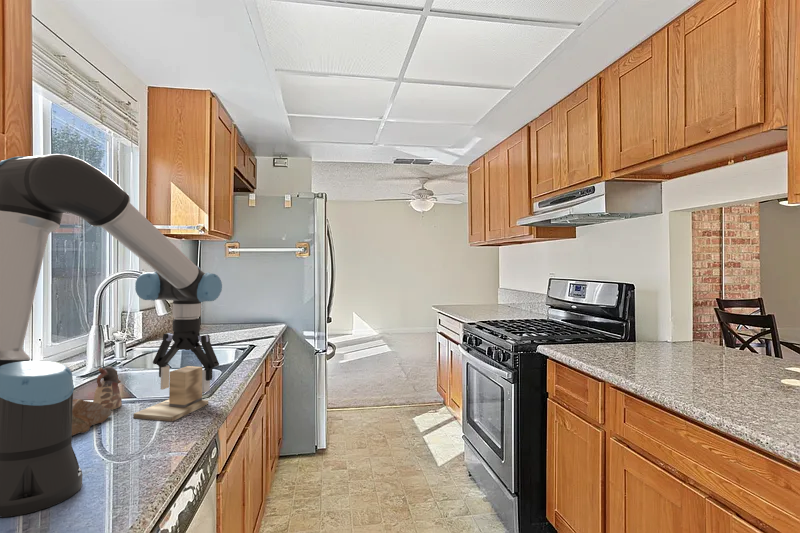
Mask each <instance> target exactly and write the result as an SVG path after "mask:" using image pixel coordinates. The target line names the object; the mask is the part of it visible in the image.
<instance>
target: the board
mask: <svg viewBox="0 0 800 533" xmlns="http://www.w3.org/2000/svg"><path fill="white" fill-rule="evenodd" d="M207 404H208V405H209V400H208V399H202V400H201V401H199V402H196V403H194V404H192V405H190V406H187V407H185V408H181V407H169V398H168V399H166V400H164V401H161V402H158V403H157V404H153V405H151V406H149V407H145V408H143V409H141V410H138V411H136V412H134V413H133V419H140V420H141V419H142V420H143V419H144V420H151V421H152V420H153V421H163V422H164V421H166V422H174V421H177V420H178V419H180V418H182V417H185V416H186V415H188V414H191V413H193V412H195V411H197V410H200V409H201V408H204V407H206V406H208V405H207ZM205 405H206V406H205Z"/></svg>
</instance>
